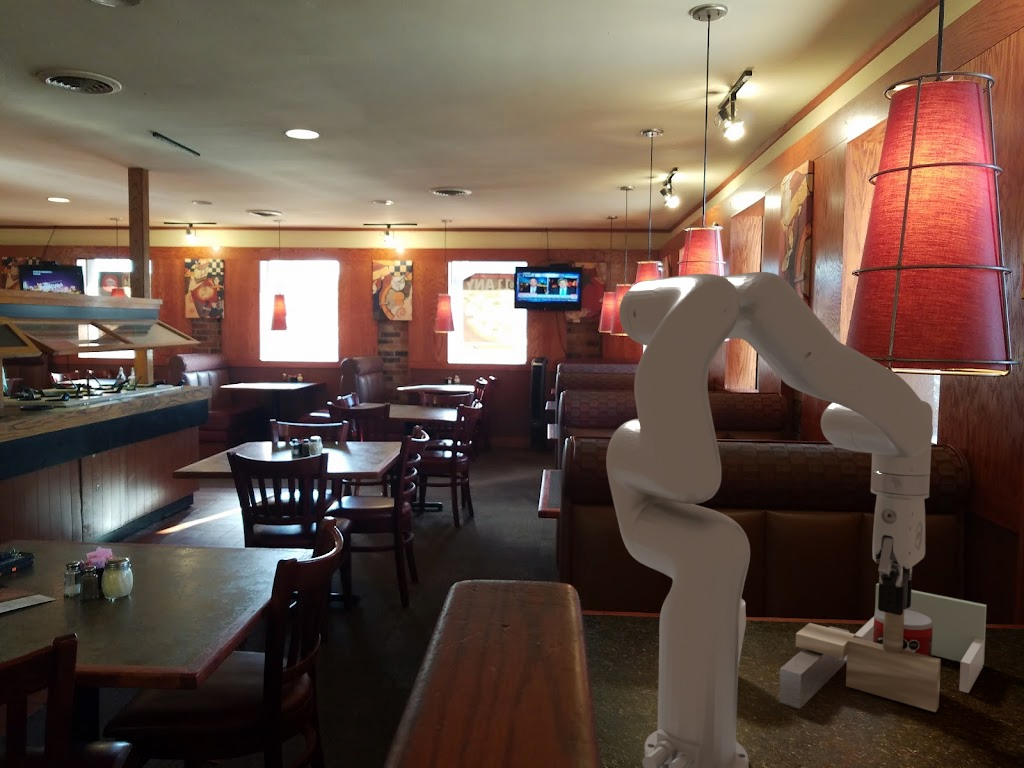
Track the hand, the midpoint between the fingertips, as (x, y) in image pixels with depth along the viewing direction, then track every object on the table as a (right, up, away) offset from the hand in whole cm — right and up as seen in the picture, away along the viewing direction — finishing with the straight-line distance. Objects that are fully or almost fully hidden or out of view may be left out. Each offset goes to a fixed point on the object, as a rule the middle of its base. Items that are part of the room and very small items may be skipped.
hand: (894, 607), depth 109 cm
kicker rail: (-9, -13, +7) cm, 17 cm away
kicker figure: (-3, -13, +3) cm, 14 cm away
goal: (+10, -13, +13) cm, 21 cm away
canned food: (+3, -14, +5) cm, 15 cm away
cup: (-24, -13, +8) cm, 29 cm away
